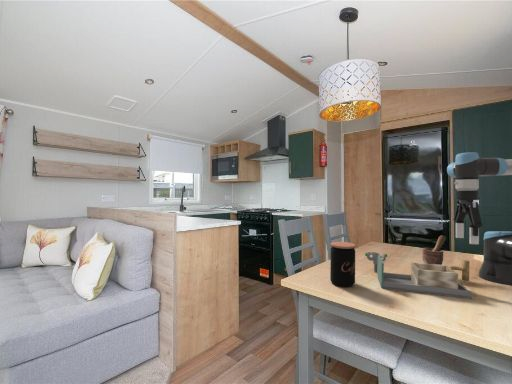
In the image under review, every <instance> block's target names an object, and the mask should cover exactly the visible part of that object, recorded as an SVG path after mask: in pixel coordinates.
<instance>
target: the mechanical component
mask: <svg viewBox="0 0 512 384" xmlns="http://www.w3.org/2000/svg"><path fill="white" fill-rule="evenodd" d="M378 255H380V253H379V252H374V251H373V252H372V251H371V252H370V251H366V252H365V253H364V256H365V257H366V259H367V260H368V261H370V262H371V261H372V263H373V272H374V273H376V274H378ZM380 257H381V259H382V261H383V262H386V260H387V257H388V254H387V253H385V252H383V253H382V255H380Z"/></svg>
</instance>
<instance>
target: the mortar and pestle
mask: <svg viewBox="0 0 512 384" xmlns="http://www.w3.org/2000/svg"><path fill="white" fill-rule="evenodd" d="M446 240H447V237H446V235H442V234H441V235H440V236H438V239H437V241H436V244H435V246H434V248H433V247H422V254H421V255H422V261H423V263H424V264H436V265H443V261H444V250H442V249H441V248H442V246H443V245H444V244H445V241H446Z"/></svg>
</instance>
